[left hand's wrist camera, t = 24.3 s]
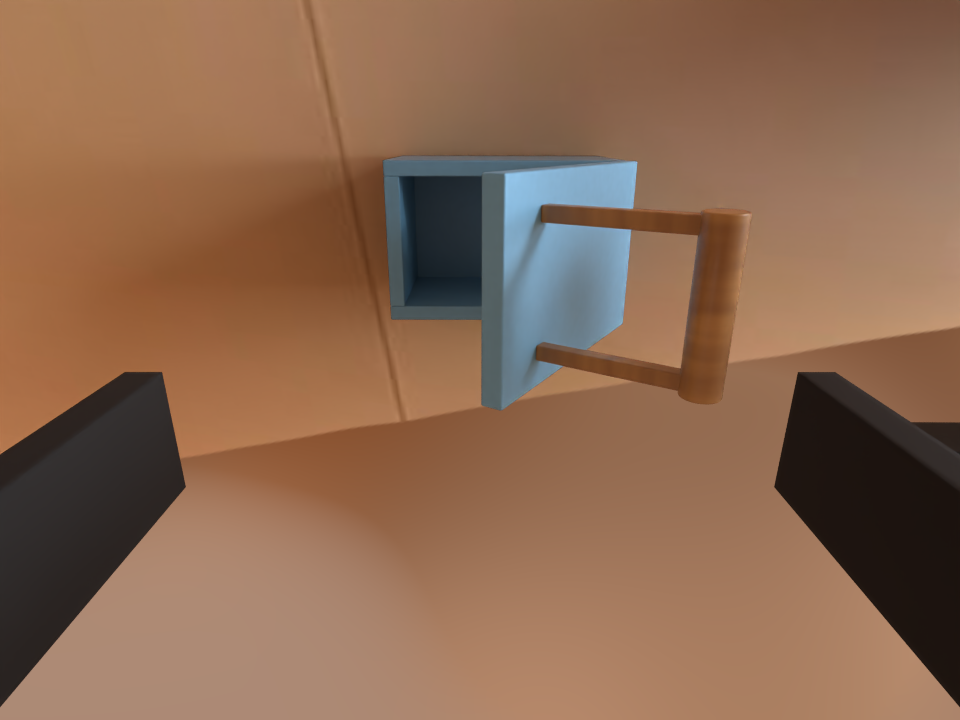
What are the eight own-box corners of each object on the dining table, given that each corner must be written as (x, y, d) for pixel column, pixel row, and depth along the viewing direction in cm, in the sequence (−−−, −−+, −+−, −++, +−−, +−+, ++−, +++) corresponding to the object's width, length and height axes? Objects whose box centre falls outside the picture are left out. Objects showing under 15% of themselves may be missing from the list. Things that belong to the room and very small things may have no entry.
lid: (480, 406, 24) (696, 465, 20) (481, 172, 21) (738, 181, 17) (606, 321, 35) (762, 347, 31) (620, 160, 32) (796, 164, 28)
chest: (408, 285, 44) (391, 319, 36) (402, 155, 41) (382, 160, 32) (588, 285, 44) (613, 320, 36) (596, 155, 41) (626, 160, 32)
